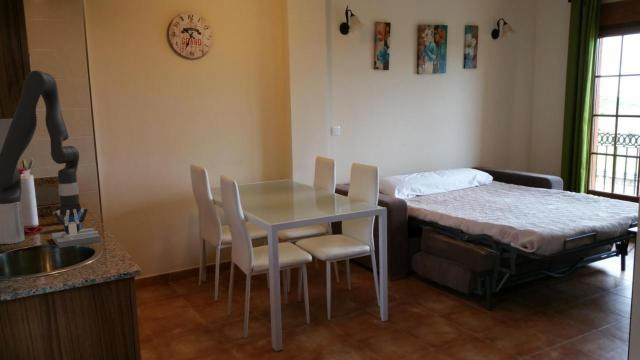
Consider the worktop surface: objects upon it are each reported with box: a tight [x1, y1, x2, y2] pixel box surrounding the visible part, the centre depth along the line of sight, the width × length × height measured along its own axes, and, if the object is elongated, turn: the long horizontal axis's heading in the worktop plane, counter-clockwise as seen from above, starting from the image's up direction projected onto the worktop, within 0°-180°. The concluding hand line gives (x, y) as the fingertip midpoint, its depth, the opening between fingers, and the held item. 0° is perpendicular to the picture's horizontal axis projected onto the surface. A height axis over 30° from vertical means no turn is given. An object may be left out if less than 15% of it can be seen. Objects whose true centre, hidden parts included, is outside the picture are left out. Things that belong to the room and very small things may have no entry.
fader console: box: [51, 227, 101, 249], centre depth 224 cm, size 16×18×3 cm
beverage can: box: [68, 210, 82, 229], centre depth 244 cm, size 6×6×12 cm
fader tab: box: [68, 222, 77, 235], centre depth 222 cm, size 3×4×5 cm
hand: (72, 232), depth 222 cm, fingers closed on fader tab, 3 cm apart
